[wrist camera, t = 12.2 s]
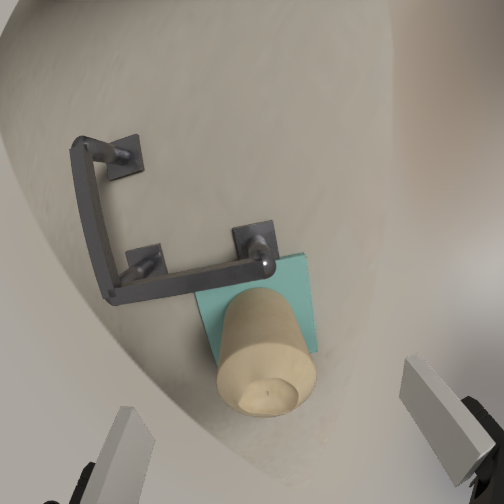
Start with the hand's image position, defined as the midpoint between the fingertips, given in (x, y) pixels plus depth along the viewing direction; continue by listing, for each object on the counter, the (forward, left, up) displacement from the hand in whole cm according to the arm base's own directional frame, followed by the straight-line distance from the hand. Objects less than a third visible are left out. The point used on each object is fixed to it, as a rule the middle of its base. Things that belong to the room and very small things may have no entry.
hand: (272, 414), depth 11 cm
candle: (0, 0, -12) cm, 12 cm away
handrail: (-10, -4, -12) cm, 16 cm away
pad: (0, 0, -12) cm, 12 cm away
